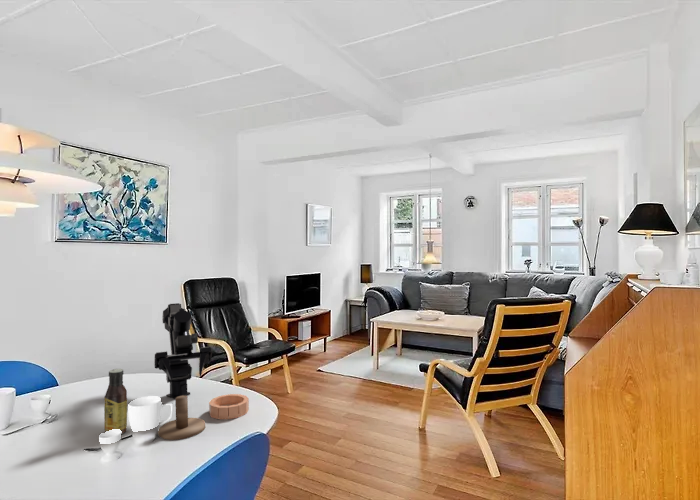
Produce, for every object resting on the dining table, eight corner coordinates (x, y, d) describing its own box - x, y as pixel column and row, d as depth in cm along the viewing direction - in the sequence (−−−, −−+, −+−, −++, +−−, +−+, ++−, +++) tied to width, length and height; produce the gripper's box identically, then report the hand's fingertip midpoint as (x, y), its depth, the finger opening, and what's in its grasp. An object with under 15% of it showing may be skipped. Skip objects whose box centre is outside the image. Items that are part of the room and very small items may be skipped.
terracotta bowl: (201, 414, 148) (201, 403, 148) (229, 402, 159) (229, 391, 159) (228, 422, 142) (228, 410, 142) (255, 409, 153) (255, 398, 153)
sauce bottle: (101, 433, 134) (100, 370, 134) (122, 427, 138) (122, 366, 138) (108, 439, 129) (107, 374, 129) (130, 433, 134) (129, 369, 134)
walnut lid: (148, 434, 134) (147, 400, 133) (186, 418, 146) (185, 387, 146) (177, 444, 126) (177, 409, 126) (214, 426, 139) (214, 394, 138)
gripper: (154, 328, 146) (156, 366, 135) (210, 323, 154) (217, 359, 144) (153, 349, 152) (155, 387, 142) (207, 343, 161) (213, 378, 150)
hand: (186, 377), depth 144 cm, fingers open, 9 cm apart
